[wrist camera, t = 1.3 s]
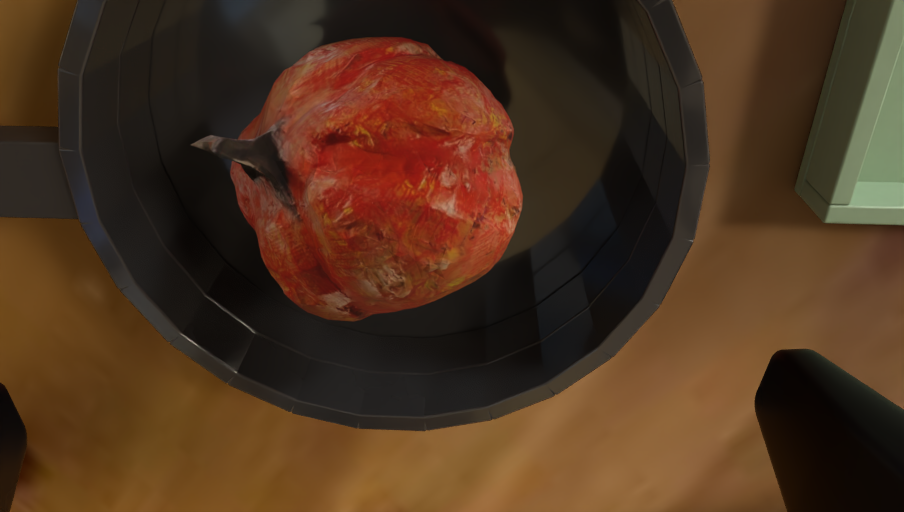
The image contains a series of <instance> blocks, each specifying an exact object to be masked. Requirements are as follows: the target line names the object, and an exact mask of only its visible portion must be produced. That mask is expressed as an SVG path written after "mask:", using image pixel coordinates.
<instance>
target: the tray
mask: <svg viewBox="0 0 904 512" xmlns="http://www.w3.org/2000/svg"><path fill="white" fill-rule="evenodd" d="M794 190H795V192H796V193H797V194H798V195H799V196H801V198H802V199H803V200H804V201H805V203H806V204H807V205H808V206H809V207H810V208H811V209H812V210H813V211H814V213H815V214H816V215H817V216H818V217H819V218H820V219H821V220H822V222H824V223H838V224H876V225H904V0H847V2H846V5H845V9H844V12H843V16H842V20H841V23H840V27H839V30H838V34H837V38H836V41H835V45H834V48H833V52H832V56H831V59H830V63H829V66H828V70H827V73H826V77H825V81H824V84H823V88H822V91H821V95H820V99H819V102H818V106H817V109H816V113H815V117H814V120H813V124H812V127H811V131H810V135H809V138H808V142H807V145H806V149H805V152H804V156H803V160H802V163H801V167H800V170H799V174H798V178H797V181H796V185H795V188H794Z"/></svg>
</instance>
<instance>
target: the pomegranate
mask: <svg viewBox="0 0 904 512" xmlns="http://www.w3.org/2000/svg"><path fill="white" fill-rule="evenodd" d="M513 135H514V128H513V125H512V122H511V120H510V118H509V116H508V114H507V113H506V111H505V109H504V108H503V106H502V104H501V103H500V102H499V101H497V100H496V99H495V98H494V96H493V94H492V93H491V91H490V90H489V89H488V88H487V87H486V86H485V85H484V84H483V83H482V82H481V81H480V80H479V79H478V78H477V77H476V76H475V75H474V74H473V73H472V72H470V71H469V70H468V69H466V68H465V67H463V66H461V65H458V64H456V63H454V62H452V61H443V59H441V58H440V57H439V56H438V55H437V54H436V53H435V51H434V50H433V49H432V48H431V47H430V46H429V45H428V44H425V43H420V42H417V41H413V40H411V39H407V38H402V37H368V38H357V39H349V40H344V41H339V42H335V43H331V44H326V45H322V46H320V47H317V48H316V49H314V50H312V51H310V52H308V53H307V54H306V55H305V56H303V57H302V58H301V59H300V60H299V61H298V62H296V63H295V64H294V65H293V66H292V67H290V68H288V69H285V70H284V71H283V72H282V73H281V75H280V76H279V77H278V78H277V80H276V81H275V82H274V84H273V86H272V89H271V91H270V93H269V95H268V98H267V100H266V102H265V104H264V106H263V109H262V111H261V113H260V114H259V115H258V116H257V117H256V118H254V119H253V121H252V122H251V123H250V124H249V125H248V126H247V127H246V128H245V129H244V130H243V131H242V132H241V134H240V136H239V138H238V140H237V139H230V138H224V137H219V136H213V135H210V136H207V137H205V138H202V139H200V140H198V141H197V142H195V143H193V144H191V145H192V146H195V147H198V148H201V149H203V150H206V151H208V152H210V153H212V154H213V155H215V156H217V157H219V158H223V159H228V160H232V164H231V170H230V175H231V179H232V181H233V183H234V185H235V190H236V195H237V200H238V204H239V207H240V209H241V211H242V213H243V215H244V217H245V218H246V220H247V221H248V223H249V224H250V225H251V226H252V228H253V229H254V230H255V231H256V234H257V238H258V242H259V248H260V253H261V257H262V259H263V261H264V263H265V265H266V267H267V269H268V270H269V272H270V274H271V276H272V277H273V278H274V279H275V280H276V281H277V282H278V284H279V285H280V287H281V288H282V290H283V292H284V294H285V295H286V296H287V297H288V298H289V299H290V300H292V301H293V302H294V303H295V304H297V305H298V306H299V307H300V308H302V309H303V310H305V311H306V312H308V313H311V314H314V315H317V316H319V317H322V318H325V319H328V320H341V321H357V320H362V319H364V318H366V317H368V316H370V315H373V314H379V313H389V312H396V311H400V310H404V309H410V308H416V307H419V306H422V305H425V304H427V303H430V302H433V301H436V300H438V299H440V298H442V297H444V296H446V295H448V294H450V293H452V292H454V291H457V290H459V289H461V288H463V287H465V286H466V285H468V284H470V283H472V282H474V281H476V280H477V279H479V278H480V277H482V276H483V275H485V274H486V273H487V272H489V271H490V270H491V269H492V267H493V266H494V264H496V263H497V262H498V261H499V260H500V258H501V257H502V255H503V253H504V251H505V250H506V248H507V246H508V243H509V241H510V239H511V237H512V235H513V233H514V231H515V227H516V225H517V222H518V219H519V216H520V213H521V210H522V199H523V195H522V191H521V186H520V182H519V179H518V177H517V174H516V169H515V166H514V164H513V162H512V161H511V158H510V154H509V149H510V146H511V142H512V139H513Z"/></svg>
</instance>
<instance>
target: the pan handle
mask: <svg viewBox="0 0 904 512" xmlns="http://www.w3.org/2000/svg"><path fill="white" fill-rule="evenodd" d="M0 217H21V218H58V219H78V215H77V212H76V208H75V205H74V201H73V198H72V194H71V191H70V188H69V184H68V181H67V177H66V174H65V170H64V167H63V164H62V160H61V157H60V153H59V146H58V127H40V126H0Z"/></svg>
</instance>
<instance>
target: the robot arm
mask: <svg viewBox="0 0 904 512" xmlns="http://www.w3.org/2000/svg"><path fill="white" fill-rule="evenodd" d="M755 412H756V416H757V419H758V422H759V425H760V428H761V432H762V435H763V438H764V441H765V444H766V447H767V450H768V453H769V456H770V460H771V463H772V466H773V469H774V472H775V475H776V478H777V481H778V484H779V488H780V491H781V494H782V497H783V500H784V503H785V506H786V509H787V512H904V410H903V409H902V408H900V407H899V406H897V405H896V404H894V403H893V402H891V401H890V400H888V399H887V398H885V397H883V396H882V395H880V394H879V393H877V392H876V391H874V390H873V389H871V388H870V387H868V386H867V385H865V384H864V383H862V382H861V381H859V380H858V379H856V378H855V377H853V376H852V375H850V374H849V373H847V372H846V371H844V370H843V369H841V368H840V367H838V366H837V365H835V364H834V363H832V362H831V361H829V360H828V359H826V358H825V357H823V356H822V355H820V354H819V353H817V352H815V351H813V350H810V349H785V350H779V351H777V352H776V353H775V354H774V355H773V356H772V357H771V359H770V362H769V364H768V366H767V369H766V371H765V374H764V376H763V378H762V381H761V383H760V385H759V388H758V390H757V392H756V396H755ZM26 447H27V432H26V428H25V425H24V423H23V421H22V419H21V417H20V415H19V413H18V411H17V409H16V407H15V405H14V403H13V401H12V399H11V397H10V395H9V393H8V391H7V389H6V387H5V386H4V385H3V384H1V383H0V512H10V509H11V505H12V501H13V498H14V494H15V490H16V486H17V482H18V478H19V475H20V471H21V467H22V463H23V459H24V456H25V452H26Z"/></svg>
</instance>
